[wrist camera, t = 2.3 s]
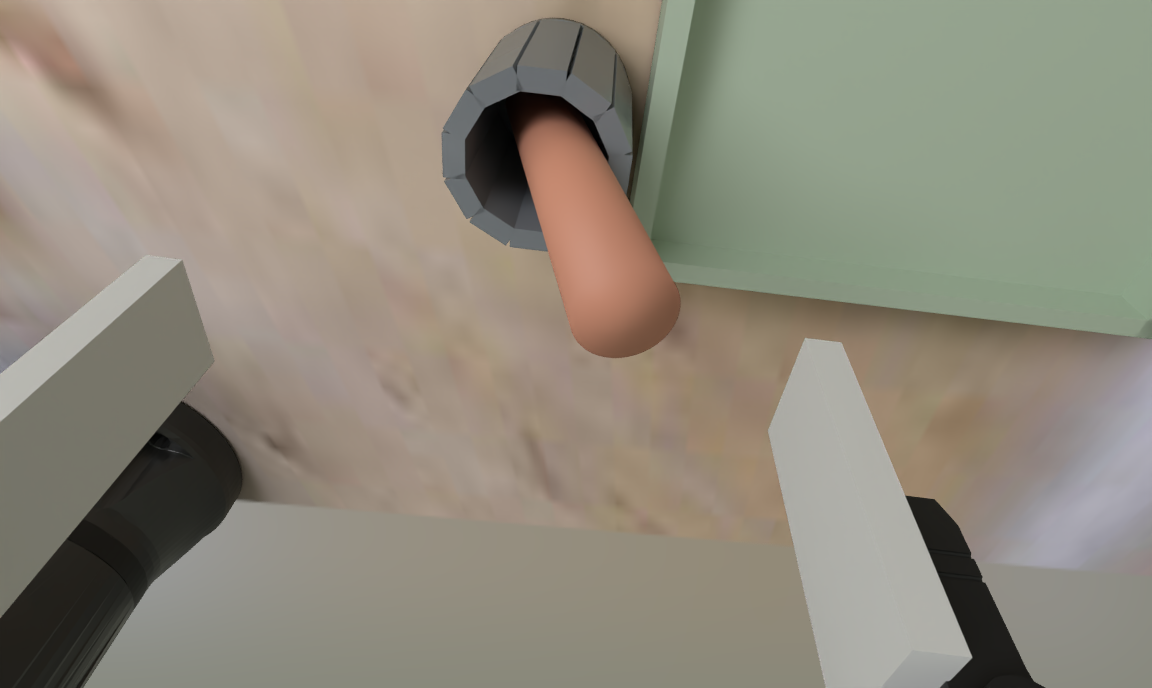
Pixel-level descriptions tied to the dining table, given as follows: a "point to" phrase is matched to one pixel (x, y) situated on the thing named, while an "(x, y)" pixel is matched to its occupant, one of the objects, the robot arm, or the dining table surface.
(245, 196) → the dining table surface
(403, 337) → the dining table surface
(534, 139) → the pin
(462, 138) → the cup
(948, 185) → the tray
